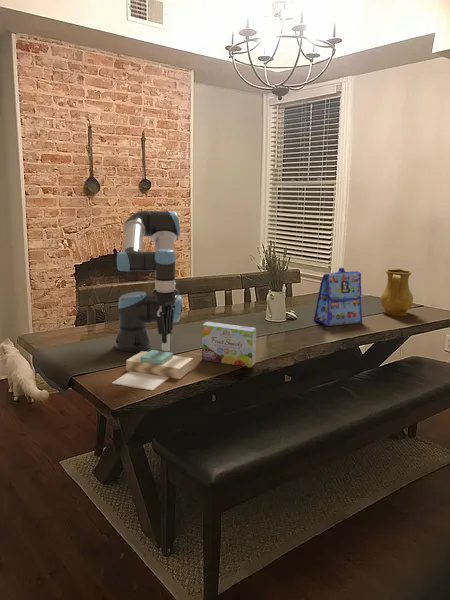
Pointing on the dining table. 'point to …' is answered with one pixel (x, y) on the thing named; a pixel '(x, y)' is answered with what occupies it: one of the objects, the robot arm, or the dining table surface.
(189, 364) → the board
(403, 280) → the pitcher
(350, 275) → the lunch bag
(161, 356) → the coaster
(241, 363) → the snack box
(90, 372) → the dining table surface
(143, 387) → the mat
